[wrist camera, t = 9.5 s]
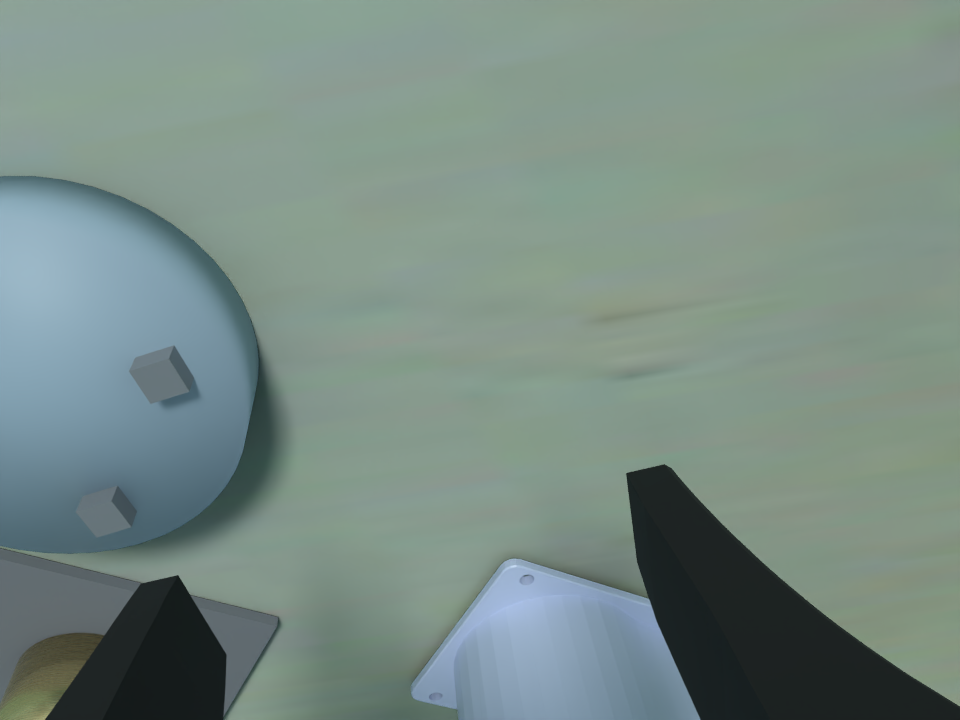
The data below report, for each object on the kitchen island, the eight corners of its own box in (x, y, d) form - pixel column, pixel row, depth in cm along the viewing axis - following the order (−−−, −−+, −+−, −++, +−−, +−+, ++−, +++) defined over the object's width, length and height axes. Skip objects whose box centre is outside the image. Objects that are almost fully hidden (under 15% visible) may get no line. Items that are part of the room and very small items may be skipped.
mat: (278, 617, 28) (277, 626, 28) (188, 769, 32) (186, 779, 32) (-31, 540, 24) (-36, 550, 24) (-86, 723, 29) (-91, 733, 28)
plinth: (314, 275, 21) (306, 335, 18) (193, 528, 25) (173, 605, 23) (-111, 101, 17) (-195, 144, 15) (-168, 429, 22) (-240, 507, 19)
